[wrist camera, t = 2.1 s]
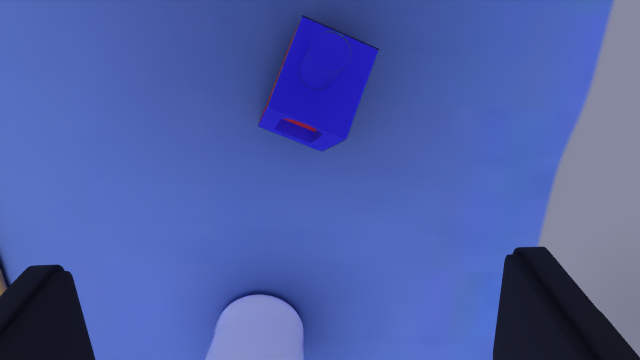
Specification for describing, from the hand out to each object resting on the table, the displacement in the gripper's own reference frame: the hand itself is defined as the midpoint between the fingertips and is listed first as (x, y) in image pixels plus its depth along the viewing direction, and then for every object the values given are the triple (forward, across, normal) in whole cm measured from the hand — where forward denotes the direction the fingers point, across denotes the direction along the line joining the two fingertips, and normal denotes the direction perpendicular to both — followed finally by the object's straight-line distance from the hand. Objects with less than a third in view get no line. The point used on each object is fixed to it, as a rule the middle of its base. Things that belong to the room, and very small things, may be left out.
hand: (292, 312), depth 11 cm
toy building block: (+16, -1, -2) cm, 16 cm away
